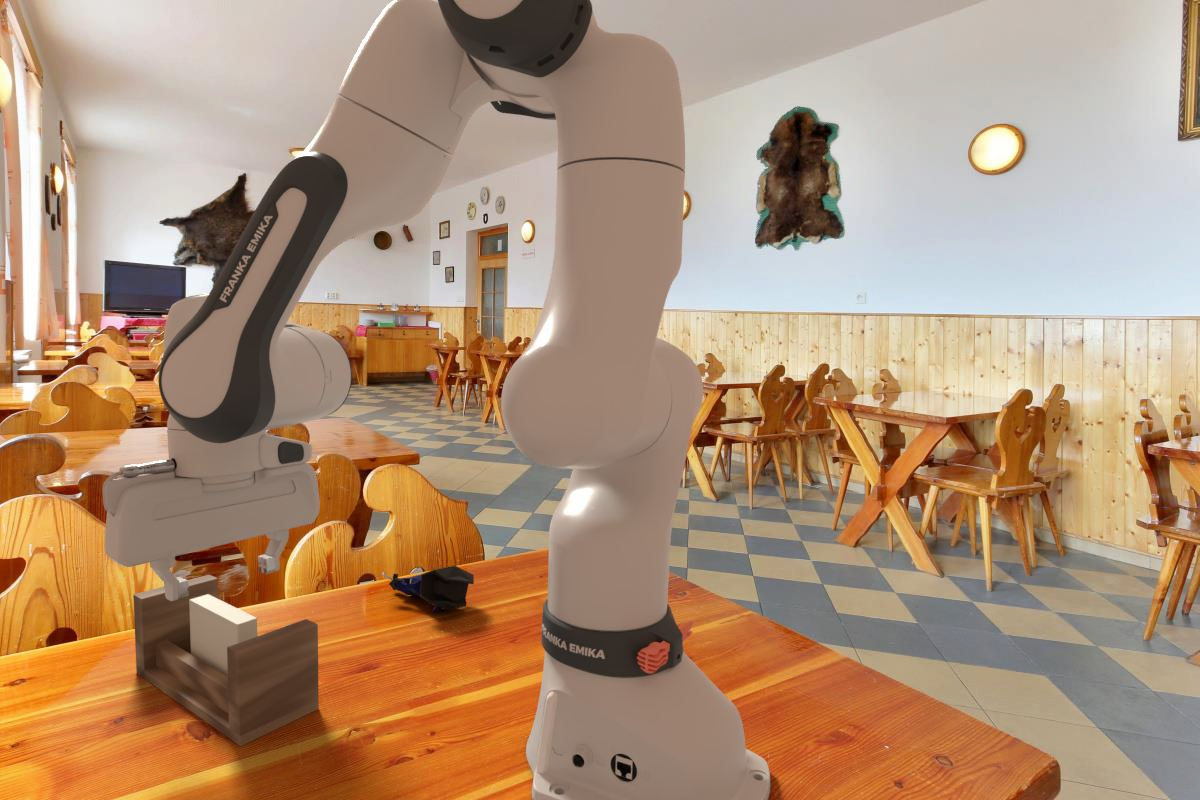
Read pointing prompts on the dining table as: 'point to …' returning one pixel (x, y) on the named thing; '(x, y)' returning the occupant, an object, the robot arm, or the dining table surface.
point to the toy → (437, 586)
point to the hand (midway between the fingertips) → (225, 584)
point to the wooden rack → (255, 667)
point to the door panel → (217, 630)
